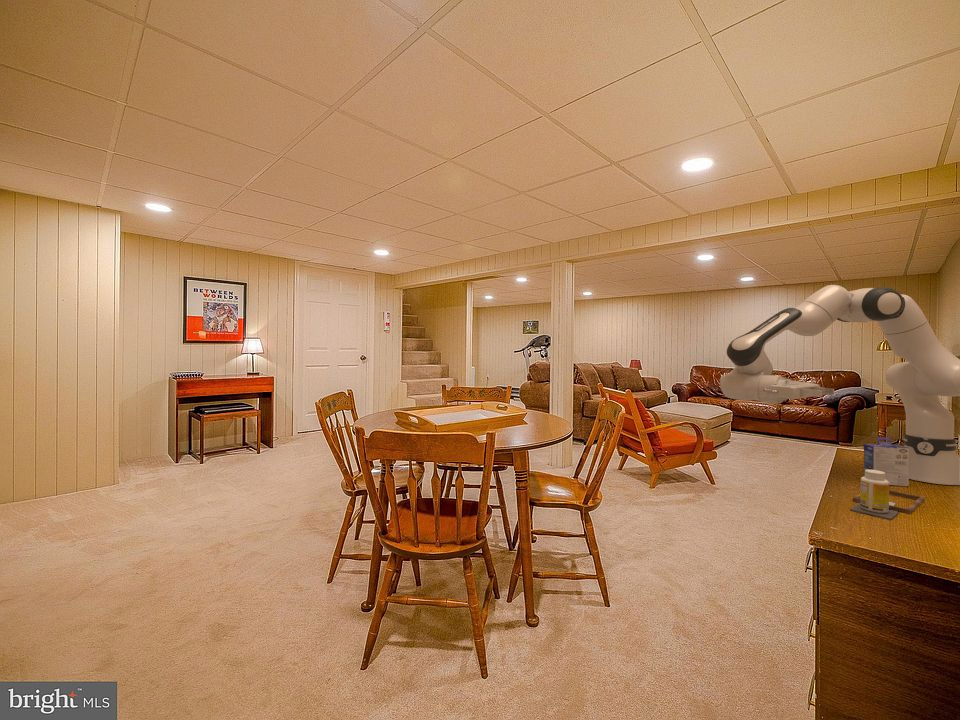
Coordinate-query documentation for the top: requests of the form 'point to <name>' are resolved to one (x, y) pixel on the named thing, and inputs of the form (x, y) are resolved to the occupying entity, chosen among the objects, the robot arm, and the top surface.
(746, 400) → the robot arm
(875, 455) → the ink cartridge box
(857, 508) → the pad
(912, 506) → the brown rectangular frame
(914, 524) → the top surface
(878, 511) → the supplement bottle
